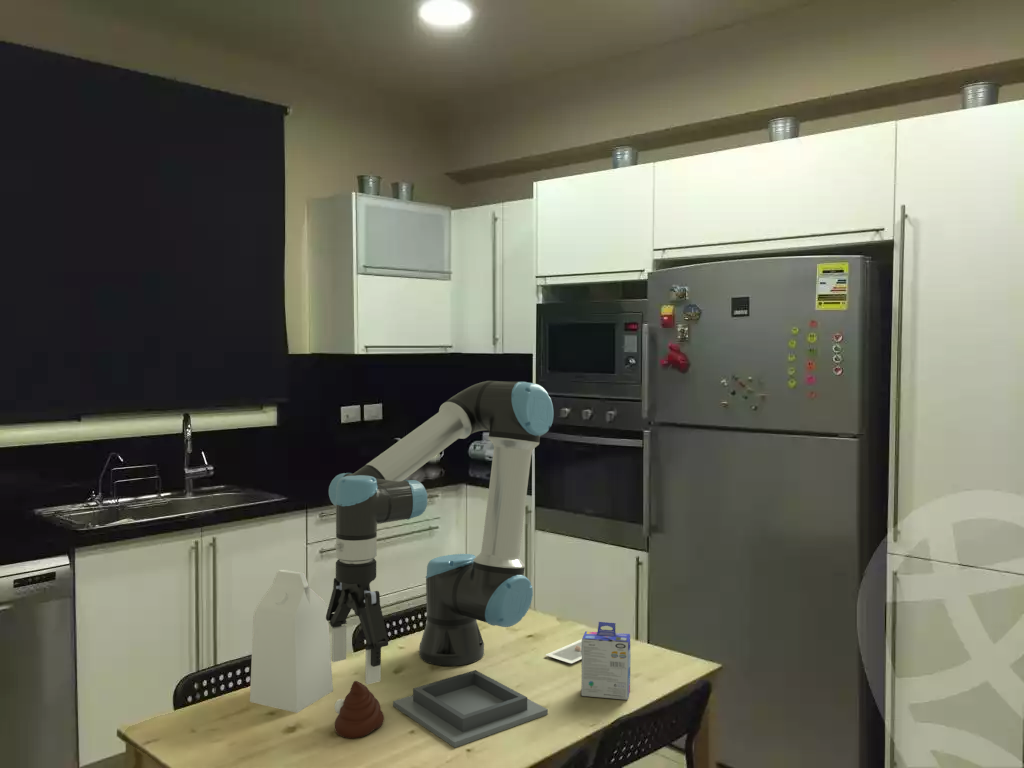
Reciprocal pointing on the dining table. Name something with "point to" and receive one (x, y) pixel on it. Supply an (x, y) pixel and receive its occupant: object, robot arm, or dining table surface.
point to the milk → (290, 645)
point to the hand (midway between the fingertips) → (355, 671)
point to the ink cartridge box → (606, 663)
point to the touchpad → (568, 652)
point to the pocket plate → (468, 707)
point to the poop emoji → (358, 713)
